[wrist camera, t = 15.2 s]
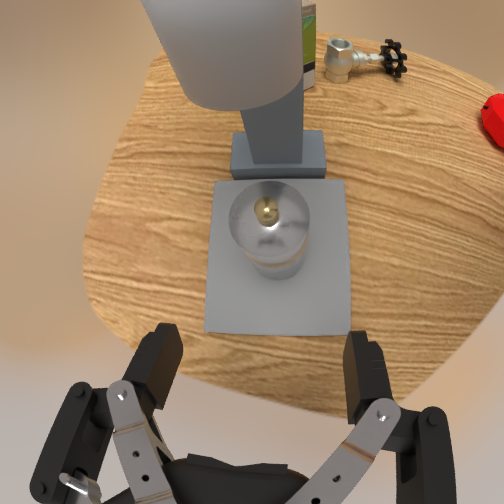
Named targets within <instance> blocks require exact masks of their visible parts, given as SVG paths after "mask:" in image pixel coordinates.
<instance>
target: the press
mask: <svg viewBox="0 0 504 504" xmlns="http://www.w3.org/2000/svg"><path fill="white" fill-rule="evenodd" d="M141 2H142V4H143V6H144V8H145V10H146V12H147V15H148V17H149V19H150V21H151V23H152V25H153V27H154V29H155V31H156V33H157V36H158V38H159V40H160V42H161V44H162V46H163V48H164V50H165V53H166V55H167V57H168V59H169V61H170V63H171V65H172V67H173V69H174V72H175V74H176V76H177V78H178V80H179V82H180V84H181V87H182V89H183V91H184V93H185V95H186V96H187V97H188V99H189V100H191V101H192V102H193V103H195V104H197V105H198V106H201V107H204V108H207V109H211V110H218V111H239V110H240V112H241V116H242V120H243V123H244V127H245V131H246V132H238V133H233V141H232V153H231V164H230V171H231V173H232V176H233V178H234V180H230V181H215V184H214V194H213V205H212V216H211V227H210V240H209V253H208V267H207V282H206V300H205V319H204V332H213V333H229V334H250V335H285V336H325V335H348V332H349V331H351V278H350V252H349V234H348V220H347V208H346V197H345V187H344V179H324V178H325V173H326V159H325V149H324V141H323V132H322V130H303V100H304V70H303V23H302V0H141ZM262 181H279V182H283V183H286V184H288V185H290V186H292V187H293V188H295V189H296V190H297V191H298V192H299V193H300V194H301V195H302V196H303V198H304V199H305V201H306V203H307V205H308V208H309V213H310V221H309V231H308V241H307V250H306V258H305V262H304V264H303V266H302V268H301V269H300V271H299V272H298V273H296V274H295V275H294V276H292V277H290V278H288V279H284V280H273V279H270V278H267V277H265V276H264V275H262V274H261V273H260V272H259V271H258V270H257V268H256V267H255V266H254V264H253V263H252V262H251V261H250V259H249V258H248V257H247V256H246V254H245V253H244V252H243V250H242V249H241V248H240V247H239V245H238V244H237V243H236V241H235V240H234V238H233V237H232V235H231V232H230V229H229V222H228V219H229V211H230V208H231V206H232V203H233V202H234V200H235V198H236V197H237V196H238V195H239V194H240V193H241V192H242V191H243V190H244V189H246V188H247V187H249V186H250V185H253V184H255V183H258V182H262Z"/></svg>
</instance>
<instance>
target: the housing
mask: <svg viewBox="0 0 504 504" xmlns="http://www.w3.org/2000/svg"><path fill="white" fill-rule="evenodd" d="M309 221H310V213H309V208H308V205H307V203H306V201H305V199H304V198H303V196H302V195H301V194H300V193H299V192H298V191H297V190H296V189H295V188H293V187H292V186H290V185H288V184H286V183H283V182H279V181H262V182H258V183H255V184H253V185H250V186H249V187H247V188H246V189H244V190H243V191H242V192H241V193H240V194H239V195H238V196H237V197H236V198H235V200H234V202H233V203H232V206H231V208H230V211H229V219H228V222H229V229H230V232H231V235H232V237H233V238H234V240H235V241H236V243H237V244H238V245H239V247H240V248H241V249H242V250H243V252H244V253H245V254H246V256H247V257H248V258H249V259H250V261H251V262H252V263H253V264H254V266H255V267H256V268H257V270H258V271H259V272H260V273H261V274H262V275H264V276H265V277H267V278H270V279H273V280H284V279H288V278H290V277H292V276H294V275H295V274H296V273H298V272H299V271H300V269H301V268H302V266H303V264H304V262H305V258H306V250H307V241H308V231H309Z"/></svg>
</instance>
